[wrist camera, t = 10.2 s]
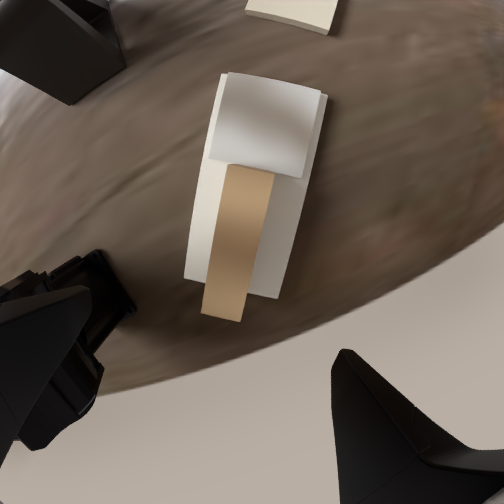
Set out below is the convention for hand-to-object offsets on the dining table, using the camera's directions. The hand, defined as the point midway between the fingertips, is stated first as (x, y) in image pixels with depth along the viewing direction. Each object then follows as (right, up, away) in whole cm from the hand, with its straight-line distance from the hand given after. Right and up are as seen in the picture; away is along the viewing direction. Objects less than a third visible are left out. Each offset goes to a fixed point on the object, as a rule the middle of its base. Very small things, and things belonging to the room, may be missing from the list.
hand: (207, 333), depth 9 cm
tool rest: (+1, +7, +10) cm, 12 cm away
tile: (+4, +19, +6) cm, 20 cm away
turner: (+1, +7, +10) cm, 12 cm away
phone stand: (-12, +20, +7) cm, 24 cm away
